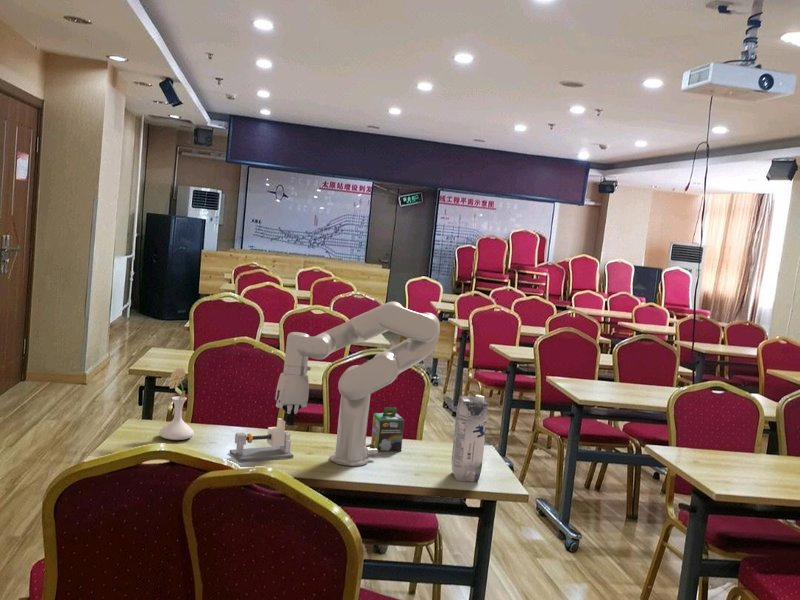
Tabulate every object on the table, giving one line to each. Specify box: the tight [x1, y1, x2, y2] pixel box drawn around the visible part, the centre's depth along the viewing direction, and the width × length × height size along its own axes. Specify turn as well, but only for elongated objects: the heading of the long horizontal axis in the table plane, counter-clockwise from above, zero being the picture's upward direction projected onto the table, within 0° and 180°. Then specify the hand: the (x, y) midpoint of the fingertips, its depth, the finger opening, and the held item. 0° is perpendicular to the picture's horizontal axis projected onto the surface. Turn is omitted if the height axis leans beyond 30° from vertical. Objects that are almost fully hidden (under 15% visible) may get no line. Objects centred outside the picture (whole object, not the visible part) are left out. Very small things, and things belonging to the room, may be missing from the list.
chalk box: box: [370, 407, 405, 452], centre depth 260 cm, size 9×9×15 cm
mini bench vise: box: [229, 430, 294, 463], centre depth 238 cm, size 18×10×7 cm, turn 122°
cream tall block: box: [266, 417, 286, 447], centre depth 240 cm, size 4×5×8 cm
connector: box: [234, 432, 247, 455], centre depth 234 cm, size 3×3×6 cm
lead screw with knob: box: [246, 433, 272, 444], centre depth 238 cm, size 16×3×3 cm, turn 122°
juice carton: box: [451, 394, 489, 483], centre depth 235 cm, size 9×10×27 cm
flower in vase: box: [158, 366, 195, 441], centre depth 246 cm, size 13×11×25 cm
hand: (289, 424), depth 243 cm, fingers closed
